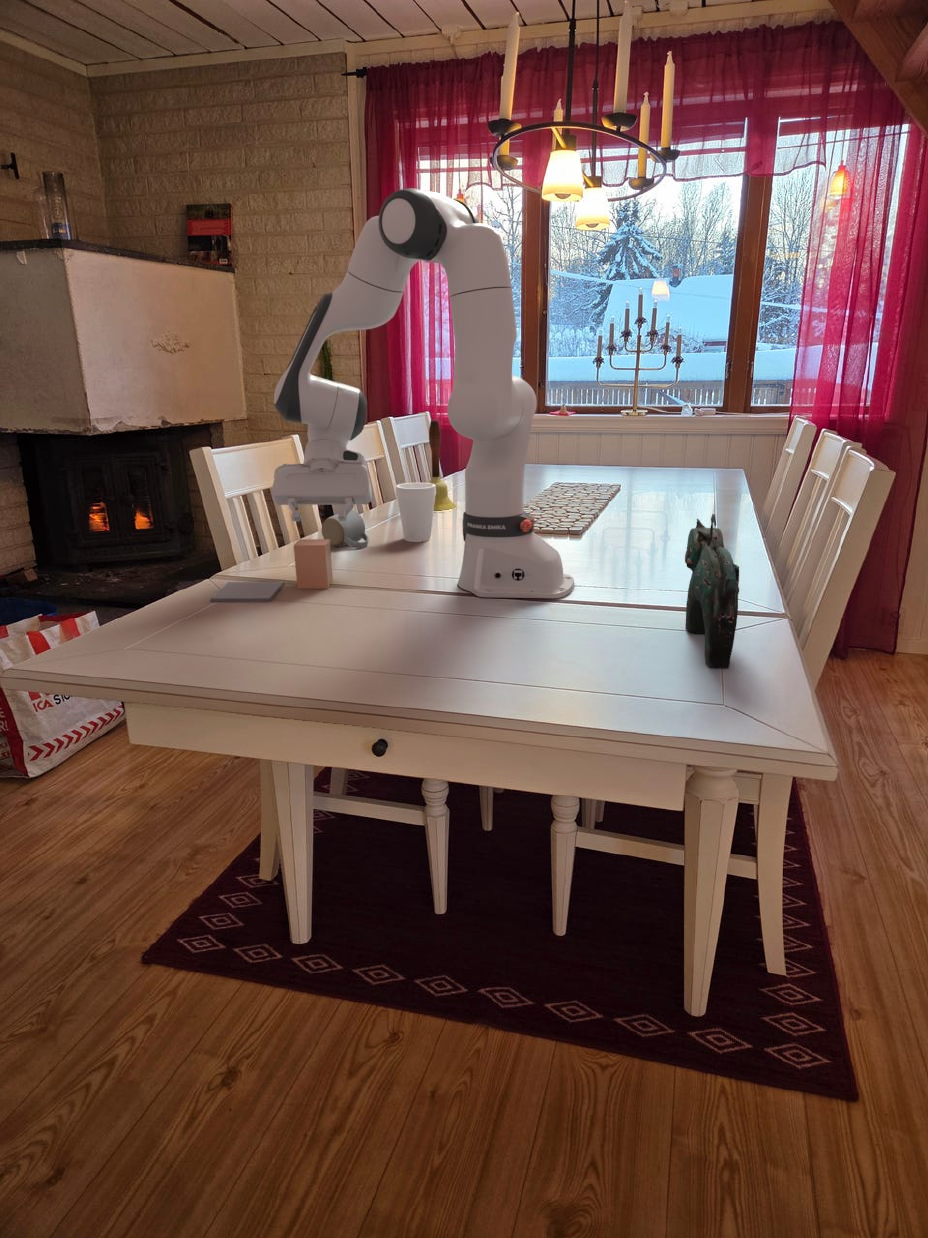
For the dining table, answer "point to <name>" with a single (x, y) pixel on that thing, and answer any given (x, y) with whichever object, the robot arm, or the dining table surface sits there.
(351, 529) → the ceramic mug
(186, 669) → the dining table surface
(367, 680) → the dining table surface
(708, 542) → the dark green horse figurine
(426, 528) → the foam cup
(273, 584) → the slate coaster
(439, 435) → the handbell
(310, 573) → the tan wooden post block
